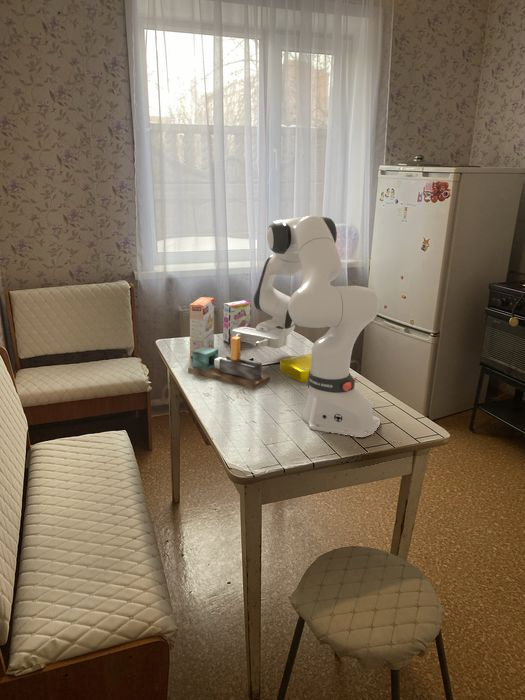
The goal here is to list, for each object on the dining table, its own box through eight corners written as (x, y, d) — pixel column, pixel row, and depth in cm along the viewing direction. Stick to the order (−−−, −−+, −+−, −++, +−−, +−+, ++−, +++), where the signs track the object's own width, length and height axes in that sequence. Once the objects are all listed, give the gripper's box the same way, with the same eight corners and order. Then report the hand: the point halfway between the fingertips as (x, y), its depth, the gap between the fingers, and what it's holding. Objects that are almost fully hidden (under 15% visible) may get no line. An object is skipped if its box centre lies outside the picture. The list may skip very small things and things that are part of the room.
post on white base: (247, 371, 181) (247, 338, 177) (242, 374, 179) (243, 341, 175) (219, 365, 187) (219, 332, 183) (214, 367, 184) (214, 334, 181)
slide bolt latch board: (269, 379, 181) (270, 359, 179) (254, 389, 173) (254, 367, 171) (205, 363, 195) (205, 344, 192) (188, 371, 187) (187, 351, 184)
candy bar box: (229, 344, 218) (229, 305, 213) (222, 341, 222) (222, 303, 217) (250, 339, 225) (251, 302, 220) (243, 336, 229) (244, 299, 223)
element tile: (310, 363, 199) (311, 351, 197) (335, 376, 187) (336, 363, 185) (277, 370, 191) (278, 358, 190) (302, 384, 179) (302, 371, 178)
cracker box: (204, 358, 200) (203, 305, 194) (189, 357, 201) (188, 304, 195) (215, 347, 213) (214, 297, 207) (200, 346, 214) (200, 296, 208)
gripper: (243, 320, 199) (222, 329, 188) (290, 329, 189) (270, 338, 178) (243, 336, 201) (222, 345, 190) (289, 346, 191) (270, 356, 180)
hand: (246, 342), depth 184 cm, fingers open, 8 cm apart
